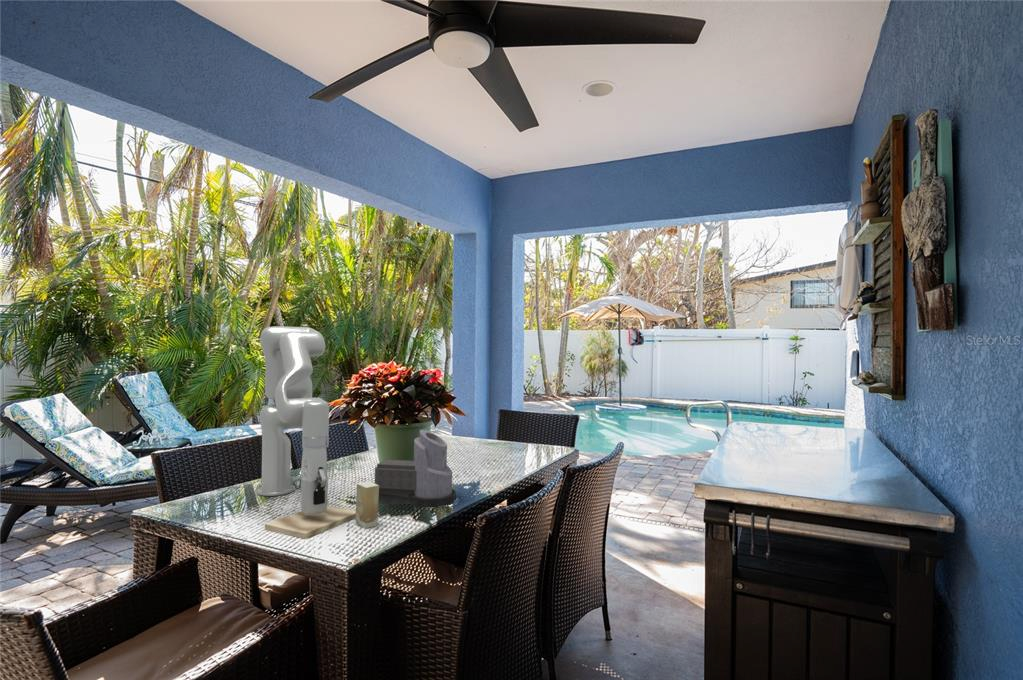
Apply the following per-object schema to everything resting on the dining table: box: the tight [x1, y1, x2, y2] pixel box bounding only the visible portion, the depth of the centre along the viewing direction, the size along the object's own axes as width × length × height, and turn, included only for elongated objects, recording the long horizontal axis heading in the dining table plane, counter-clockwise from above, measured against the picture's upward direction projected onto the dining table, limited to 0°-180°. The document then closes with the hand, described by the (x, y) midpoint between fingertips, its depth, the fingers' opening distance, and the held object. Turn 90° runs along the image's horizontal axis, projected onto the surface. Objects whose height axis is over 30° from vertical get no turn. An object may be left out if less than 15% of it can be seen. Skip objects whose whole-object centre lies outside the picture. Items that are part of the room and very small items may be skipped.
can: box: [300, 473, 329, 515], centre depth 163 cm, size 8×8×12 cm
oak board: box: [264, 504, 356, 540], centre depth 163 cm, size 22×16×2 cm
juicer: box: [374, 429, 457, 508], centre depth 188 cm, size 30×16×24 cm, turn 82°
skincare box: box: [355, 480, 379, 529], centre depth 162 cm, size 6×4×12 cm
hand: (314, 500), depth 163 cm, fingers closed on can, 7 cm apart
